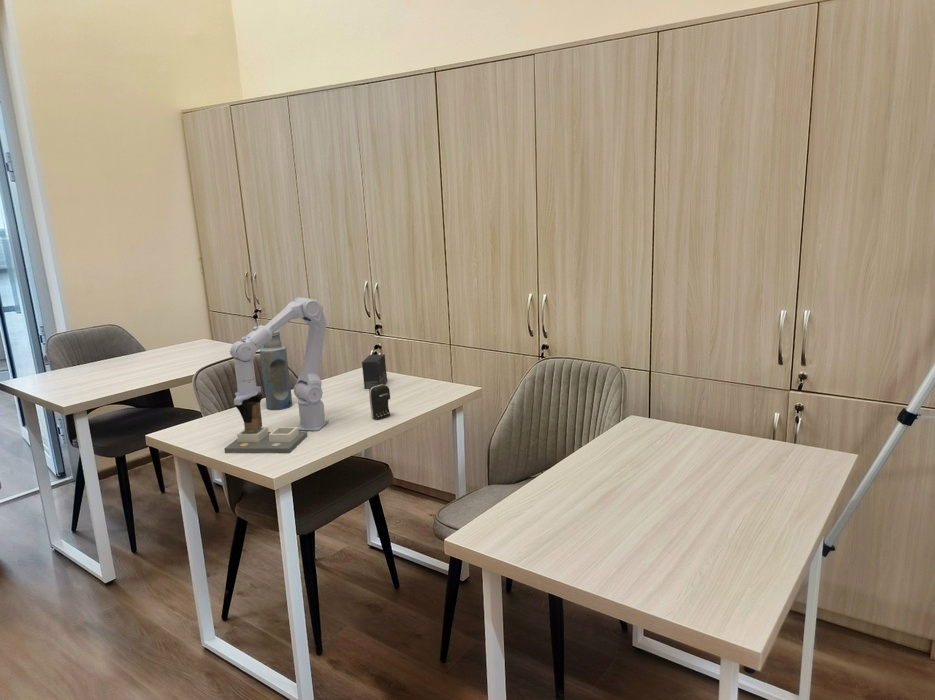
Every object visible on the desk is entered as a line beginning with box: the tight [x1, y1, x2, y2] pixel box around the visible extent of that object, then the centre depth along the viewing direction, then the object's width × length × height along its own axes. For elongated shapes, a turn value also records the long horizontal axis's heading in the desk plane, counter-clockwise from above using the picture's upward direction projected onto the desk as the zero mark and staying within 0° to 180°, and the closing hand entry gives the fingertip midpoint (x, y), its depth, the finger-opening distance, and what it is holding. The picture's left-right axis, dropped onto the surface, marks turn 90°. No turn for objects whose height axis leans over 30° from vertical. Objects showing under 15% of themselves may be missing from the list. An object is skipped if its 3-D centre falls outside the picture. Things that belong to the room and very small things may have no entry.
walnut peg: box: [243, 402, 263, 430], centre depth 210 cm, size 4×4×8 cm
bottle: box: [259, 329, 293, 411], centre depth 248 cm, size 10×10×30 cm
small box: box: [361, 353, 388, 390], centre depth 272 cm, size 13×7×12 cm, turn 174°
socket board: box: [223, 426, 309, 454], centre depth 209 cm, size 15×21×4 cm
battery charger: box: [368, 384, 391, 420], centre depth 230 cm, size 7×4×11 cm, turn 135°
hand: (251, 420), depth 210 cm, fingers closed on walnut peg, 4 cm apart
